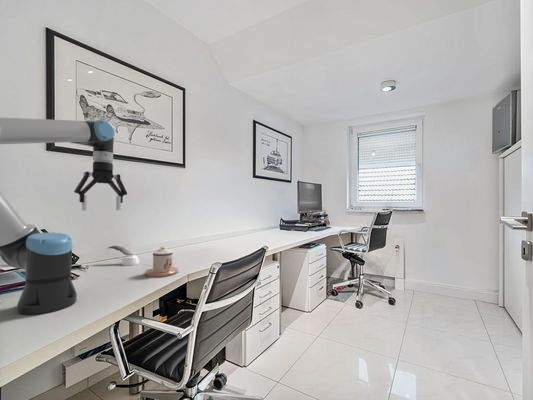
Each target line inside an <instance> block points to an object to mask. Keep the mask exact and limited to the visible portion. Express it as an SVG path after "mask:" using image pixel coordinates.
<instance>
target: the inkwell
mask: <svg viewBox="0 0 533 400" xmlns="http://www.w3.org/2000/svg"><path fill="white" fill-rule="evenodd" d="M106 249H113V250H116V251H119V252H120V253H122V254H123V255H124V256H122V260H121V262H120V263H121V266H126V267H127V266H135V265H136V266H137V265H139V264H140V259H139V257H138V255H136V254H135V253H131V252H130V251H129V250H128V249H126V248H124V247H122V246H119V245H112V246H108V248H106Z"/></svg>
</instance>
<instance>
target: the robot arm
mask: <svg viewBox="0 0 533 400" xmlns="http://www.w3.org/2000/svg"><path fill="white" fill-rule="evenodd" d="M115 135H116V131H115V127H114V126H113V124H112V123H111V122H109V121H108V120H104V119H102V120H101V119H100V120H99V119H98V120H95V121H93V120H71V119H68V120H67V119H45V118H43V119H42V118H25V117H24V118H21V117H20V118H19V117H18V118H17V117H14V118H13V117H0V145H17V144H18V145H21V144H22V145H23V144H24V145H25V144H26V145H27V144H50V143H51V144H55V143H56V144H57V143H70V144H76V145H81V146H87V147H91V148H93V149H92V152H93V153H92V161H93V162H92V172H90V171H84V172H83V175H82V178H81V180H80V182H79V183H78V185H77V186H76V187H75V190H74V191H73V192H74V193H75V194H77V195H79V203H81V211H85V212H86V211H87V202H88V201H87V200H88V199H87V196H88V195H87V194H86V193H87V192H88V191H89V190H91V189H92V187H94V185H96V184H108V185H109V186H110V187H111V189H112V190H113V191H114V192H115V193H116V199H115V200H116V201H115V202H116V203H115V210H116V211H121V206H122V205H121V204H122V203H124V202H123V198H124V196H127V195H128V192H127V190H126V187H125V186H124V185H125V184H124V183H123V181H122V178H121V174H119V173H118V174H114V165H113V162H114V140H115ZM90 177H92V180H90V182H89V183H88V184H86V183H87V181H88V179H89V178H90ZM113 178H114V180H115V182H116V184H117V185H116V184H115V182H114V180H113ZM85 184H86V186H85ZM84 186H85V187H84ZM83 187H84V188H83ZM72 251H73V241H72V237H71V236H70V235H69V234H65V233H61V232H57V233H56V232H40V231H39V230H38V228H37V226H36V225H34V224H33V223H32V224H30V223H26V221H24V219H23V217H21V216H20V215H19V213H18V212H17V210H16V209H15V208H14V207H13V206H12V204H11V203H10V202H9V201H8V199H7V198H6V197H5V195H3V193H2V192H1V191H0V258H1V260H2V261H3V262H4V263H5V264H7V265H8V266H10V267H13V268H15V269H22V270H24V271H25V285H24V287H23V289H22V292H21V295H20V296H19V297H20V298H19V300H18V302H17V306H16V312H17V313H18V314H22V315H40V314H46V313H52V312H56V311H59V310H62V309H66V308H68V307H71V306H72V305H74V304H75V303H76V302H77V300H78V298H77V297H78V293H77V292H76V288H75V287H74V283H73V281H72V255H73V254H72V253H73V252H72Z"/></svg>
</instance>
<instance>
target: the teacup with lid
mask: <svg viewBox="0 0 533 400" xmlns="http://www.w3.org/2000/svg"><path fill="white" fill-rule="evenodd" d="M173 254H174V253H173V251H172V250H170V249H168V248H166V247H165V246H161V247H160V248H159V249H157V250H155V251H153V253H152V268H153V272H155V273H165V272H169V271H171V270H172V267H173Z"/></svg>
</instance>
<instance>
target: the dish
mask: <svg viewBox="0 0 533 400" xmlns="http://www.w3.org/2000/svg"><path fill="white" fill-rule="evenodd" d="M178 273H179V268H177V267H174V266H172V270H171V271H169V272H165V273H155V272H153V267H152V268H149V269H146V270H145V271H144V275H145V276H146V277H149V278H164V277H165V278H166V277H171V276H174V275H177V274H178Z"/></svg>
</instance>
